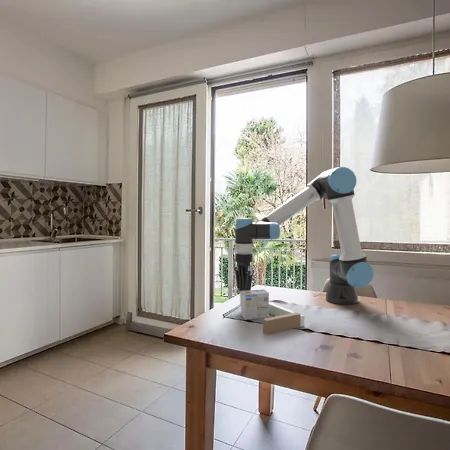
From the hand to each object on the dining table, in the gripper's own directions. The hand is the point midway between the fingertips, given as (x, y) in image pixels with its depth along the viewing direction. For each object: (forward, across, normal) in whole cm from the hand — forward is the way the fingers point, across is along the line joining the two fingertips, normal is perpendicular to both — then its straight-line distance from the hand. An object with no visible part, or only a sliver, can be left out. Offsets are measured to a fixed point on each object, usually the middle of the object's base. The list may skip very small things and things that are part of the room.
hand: (243, 305), depth 146 cm
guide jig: (+2, +16, 0) cm, 16 cm away
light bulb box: (+3, +8, 0) cm, 9 cm away
